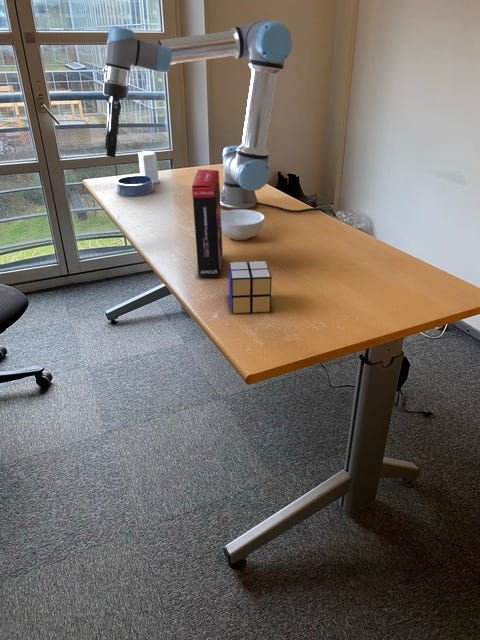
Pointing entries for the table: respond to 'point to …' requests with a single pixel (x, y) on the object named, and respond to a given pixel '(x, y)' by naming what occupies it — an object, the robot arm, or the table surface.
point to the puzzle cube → (249, 287)
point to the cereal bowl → (241, 223)
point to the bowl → (134, 185)
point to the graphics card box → (207, 222)
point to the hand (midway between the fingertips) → (109, 153)
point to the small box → (148, 165)
